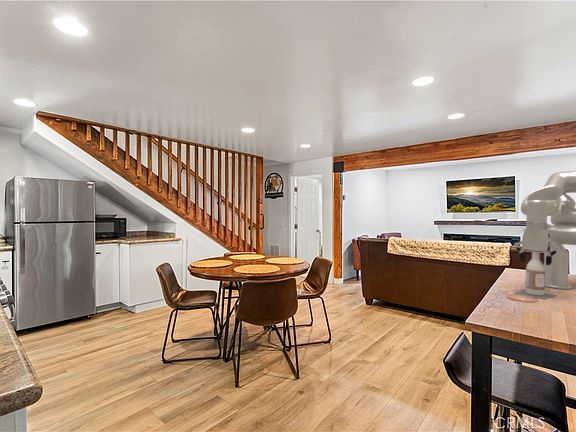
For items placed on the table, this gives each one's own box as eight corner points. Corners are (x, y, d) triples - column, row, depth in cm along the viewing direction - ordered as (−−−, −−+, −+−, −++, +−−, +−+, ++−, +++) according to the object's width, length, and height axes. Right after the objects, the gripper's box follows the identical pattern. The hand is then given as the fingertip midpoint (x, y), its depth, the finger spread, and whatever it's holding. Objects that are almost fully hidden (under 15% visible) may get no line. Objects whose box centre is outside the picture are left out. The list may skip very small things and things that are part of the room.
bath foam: (532, 295, 142) (533, 252, 142) (522, 291, 149) (523, 250, 149) (548, 296, 141) (549, 252, 141) (537, 292, 148) (538, 250, 148)
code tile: (525, 289, 153) (525, 289, 153) (556, 295, 143) (556, 295, 143) (514, 293, 147) (514, 292, 147) (545, 299, 137) (545, 299, 137)
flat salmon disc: (513, 294, 146) (513, 292, 146) (542, 300, 136) (542, 298, 136) (502, 297, 140) (502, 296, 140) (531, 303, 130) (531, 302, 130)
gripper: (563, 227, 139) (562, 265, 139) (518, 225, 154) (517, 260, 154) (556, 227, 135) (555, 266, 135) (511, 225, 150) (510, 261, 150)
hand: (535, 263), depth 145 cm, fingers open, 9 cm apart
